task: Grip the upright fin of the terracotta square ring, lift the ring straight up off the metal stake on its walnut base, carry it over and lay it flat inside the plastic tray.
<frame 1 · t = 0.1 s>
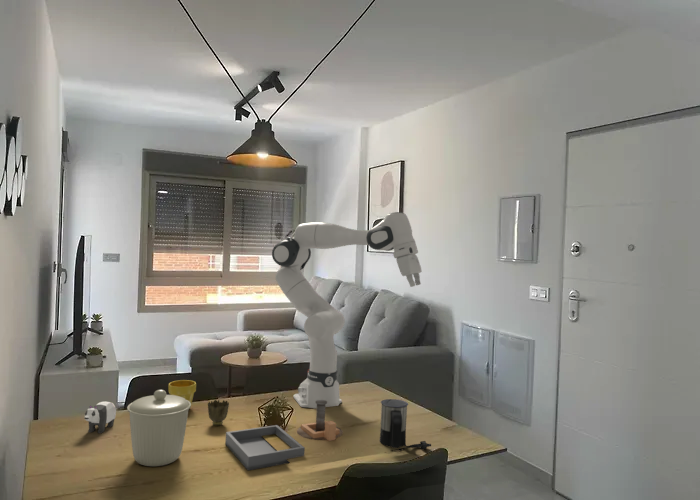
hand: (415, 285, 212), 52 cm above the table, tool tilted 20°, fingers open, 8 cm apart
tabbed ring: (319, 431, 189), point 1 cm above the table, touching stake
cup: (217, 425, 195), on the table
milk frother: (404, 448, 182), on the table
stake: (319, 435, 189), on the table
giant panda: (98, 430, 185), on the table
plant pot: (181, 408, 212), on the table
canister: (157, 460, 163), on the table
tray: (263, 452, 172), on the table
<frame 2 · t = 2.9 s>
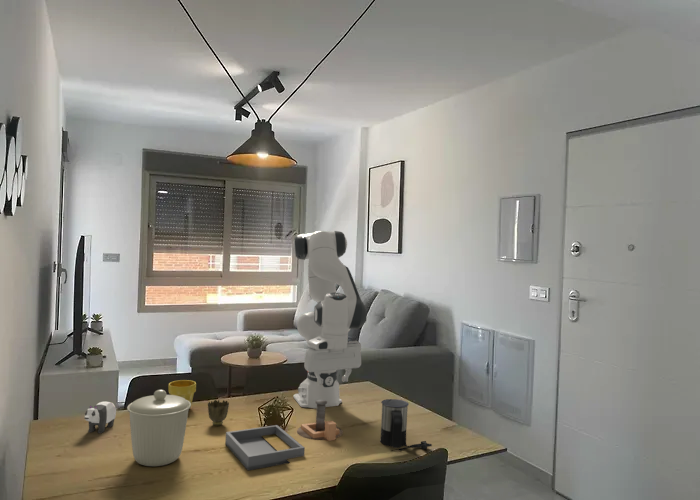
hand: (332, 382, 182), 20 cm above the table, tool pointing down, fingers open, 8 cm apart
nothing on the table moved.
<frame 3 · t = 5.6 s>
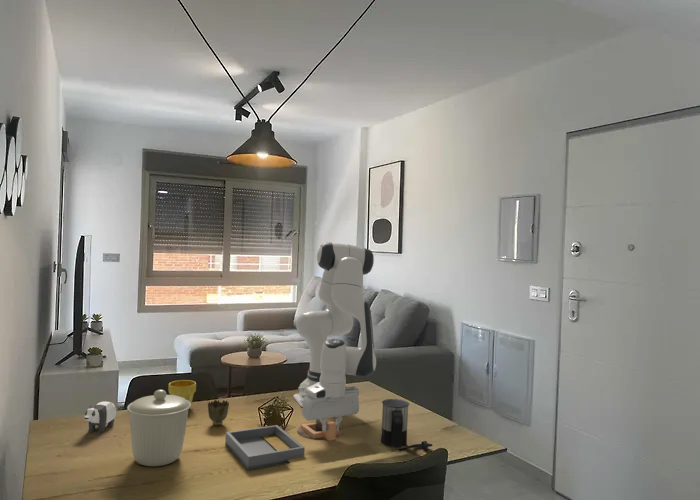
hand: (330, 429, 183), 5 cm above the table, tool pointing down, fingers closed on tabbed ring, 2 cm apart
tabbed ring: (319, 431, 189), point 2 cm above the table, touching gripper, stake
everything else where it was.
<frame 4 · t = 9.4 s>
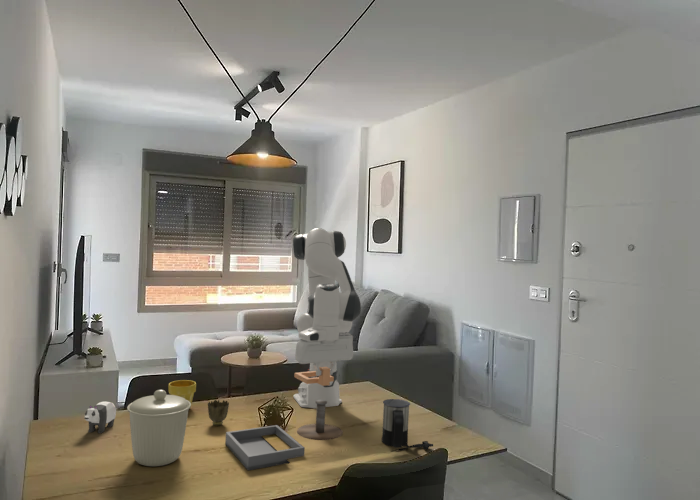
hand: (324, 375, 180), 24 cm above the table, tool pointing down, fingers closed on tabbed ring, 2 cm apart
tabbed ring: (313, 379, 186), point 20 cm above the table, touching gripper
everything else where it was.
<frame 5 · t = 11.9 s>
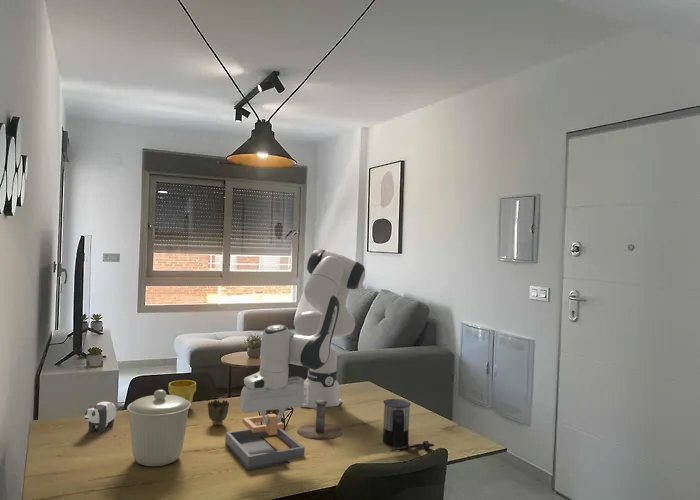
hand: (271, 423, 168), 11 cm above the table, tool pointing down, fingers closed on tabbed ring, 2 cm apart
tabbed ring: (262, 425, 174), point 8 cm above the table, touching gripper
everything else where it was.
when the fingers open (6 cm above the table, at t = 13.6 s): tabbed ring drops 2 cm, resting on tray.
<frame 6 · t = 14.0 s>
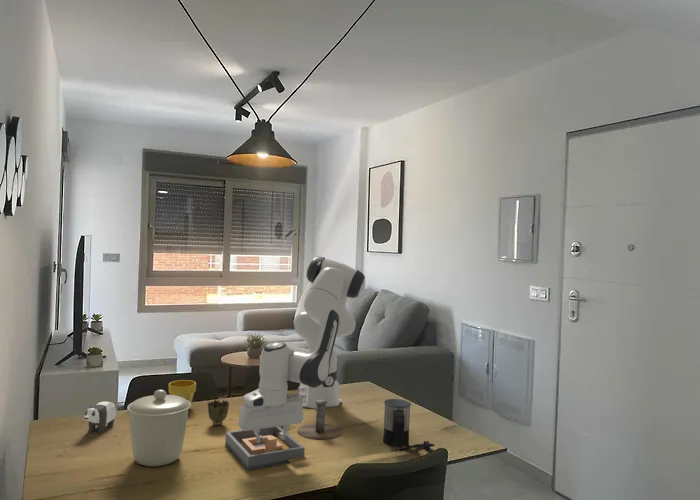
hand: (270, 440, 168), 6 cm above the table, tool pointing down, fingers open, 6 cm apart
tabbed ring: (261, 446, 174), point 1 cm above the table, touching tray
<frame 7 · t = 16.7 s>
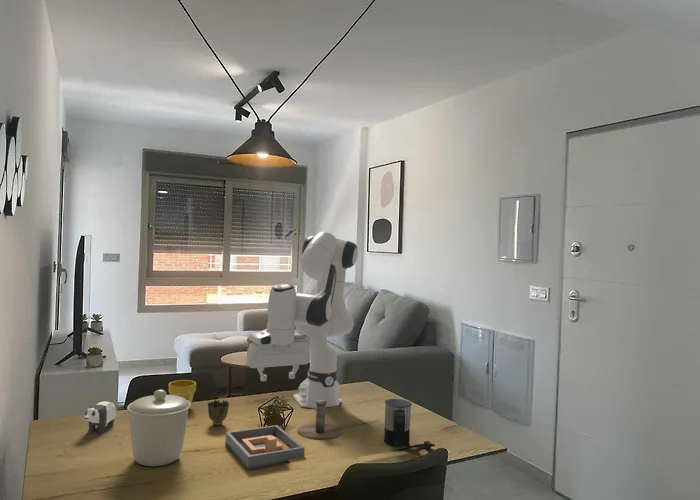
hand: (277, 379, 171), 24 cm above the table, tool pointing down, fingers open, 8 cm apart
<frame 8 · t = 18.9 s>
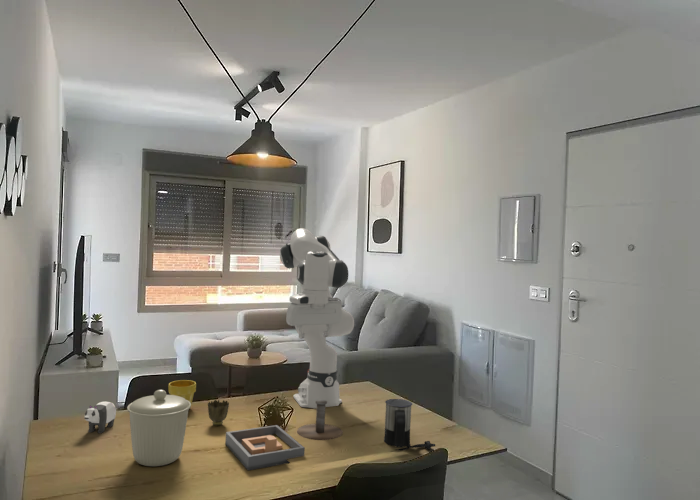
hand: (313, 337, 189), 34 cm above the table, tool pointing down, fingers open, 8 cm apart
at the end: tabbed ring inside the target area on the tray (0.1 cm from its centre), point 1.0 cm above the tray's base; tabbed ring tilted 0°; the gripper is holding nothing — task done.
